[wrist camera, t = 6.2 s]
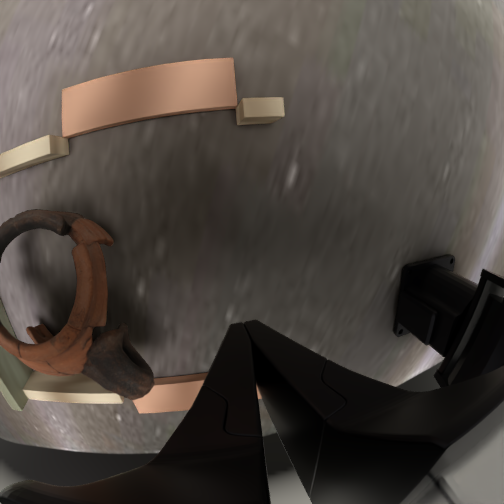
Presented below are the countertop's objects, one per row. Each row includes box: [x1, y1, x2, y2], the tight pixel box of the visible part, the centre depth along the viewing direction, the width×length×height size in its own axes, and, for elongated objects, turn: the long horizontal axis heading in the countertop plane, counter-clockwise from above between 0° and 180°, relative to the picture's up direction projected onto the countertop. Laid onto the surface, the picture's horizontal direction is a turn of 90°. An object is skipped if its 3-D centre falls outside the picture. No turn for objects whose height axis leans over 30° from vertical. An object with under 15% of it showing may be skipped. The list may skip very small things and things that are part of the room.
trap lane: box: [0, 58, 285, 413], centre depth 14 cm, size 22×23×4 cm
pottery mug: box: [0, 209, 155, 400], centre depth 13 cm, size 12×10×8 cm
